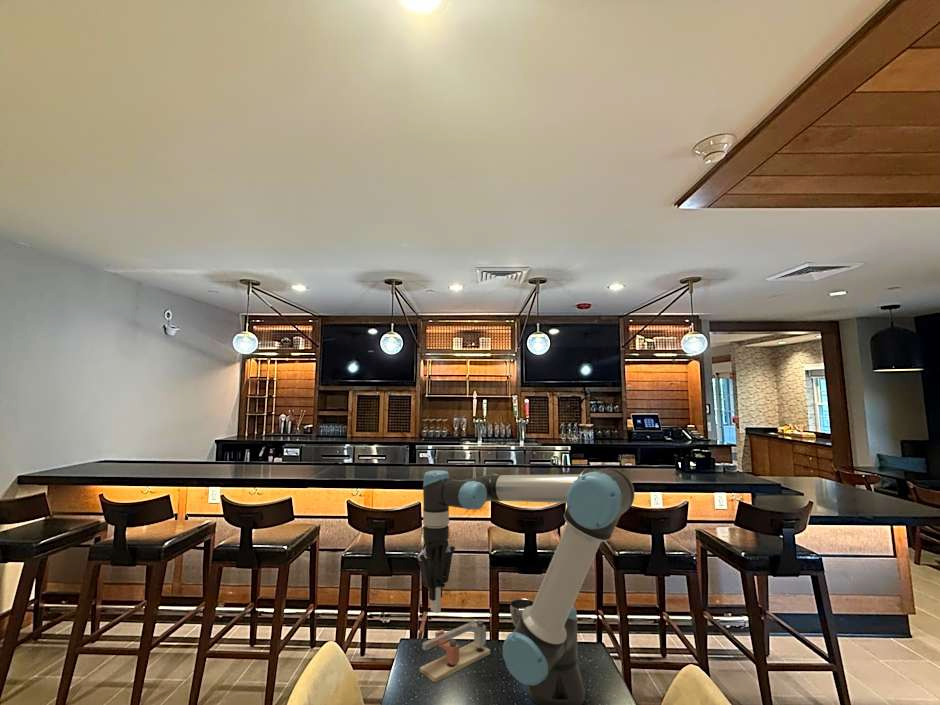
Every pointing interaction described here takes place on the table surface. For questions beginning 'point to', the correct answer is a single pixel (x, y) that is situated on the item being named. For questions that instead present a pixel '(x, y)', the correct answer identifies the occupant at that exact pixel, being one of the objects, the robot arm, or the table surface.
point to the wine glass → (519, 609)
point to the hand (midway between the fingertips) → (435, 610)
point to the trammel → (471, 626)
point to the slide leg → (450, 649)
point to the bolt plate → (443, 668)
